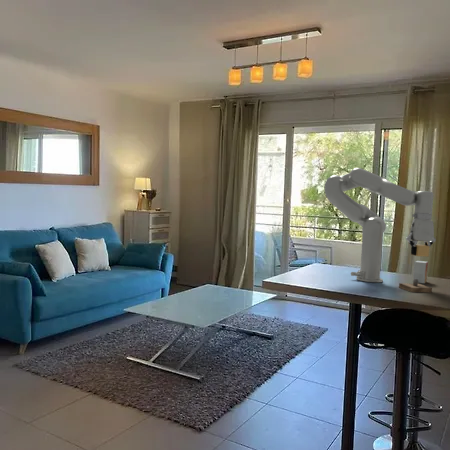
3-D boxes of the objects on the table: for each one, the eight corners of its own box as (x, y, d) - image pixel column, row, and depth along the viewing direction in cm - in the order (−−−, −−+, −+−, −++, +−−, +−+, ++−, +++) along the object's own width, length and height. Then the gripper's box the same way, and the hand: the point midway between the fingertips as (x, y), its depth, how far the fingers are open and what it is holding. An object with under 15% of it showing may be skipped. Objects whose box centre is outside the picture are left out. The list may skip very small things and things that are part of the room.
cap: (417, 256, 213) (418, 245, 213) (410, 254, 219) (411, 244, 218) (428, 256, 214) (429, 246, 214) (421, 255, 220) (422, 244, 219)
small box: (424, 283, 226) (426, 262, 226) (412, 282, 229) (414, 261, 228) (426, 281, 233) (428, 261, 232) (415, 280, 236) (416, 260, 235)
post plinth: (411, 292, 202) (412, 280, 202) (399, 287, 212) (399, 276, 211) (431, 292, 204) (432, 281, 203) (418, 287, 213) (419, 277, 213)
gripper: (411, 216, 210) (407, 255, 211) (444, 218, 213) (440, 256, 214) (401, 215, 217) (398, 253, 219) (434, 217, 221) (430, 254, 222)
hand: (419, 254), depth 216 cm, fingers closed on cap, 5 cm apart
